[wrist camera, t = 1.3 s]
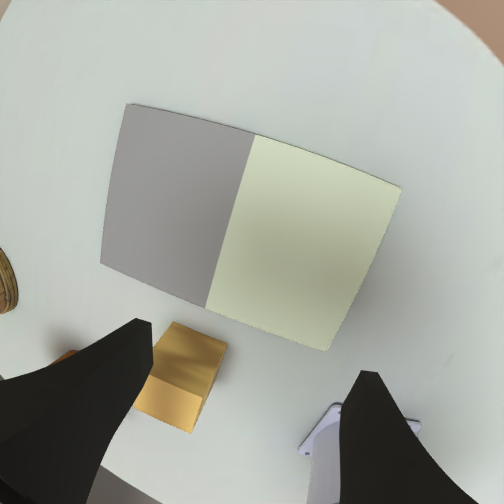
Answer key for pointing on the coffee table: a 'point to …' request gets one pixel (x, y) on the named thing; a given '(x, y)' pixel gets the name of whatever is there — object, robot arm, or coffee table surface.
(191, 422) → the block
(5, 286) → the wooden mug
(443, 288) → the coffee table surface
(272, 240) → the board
